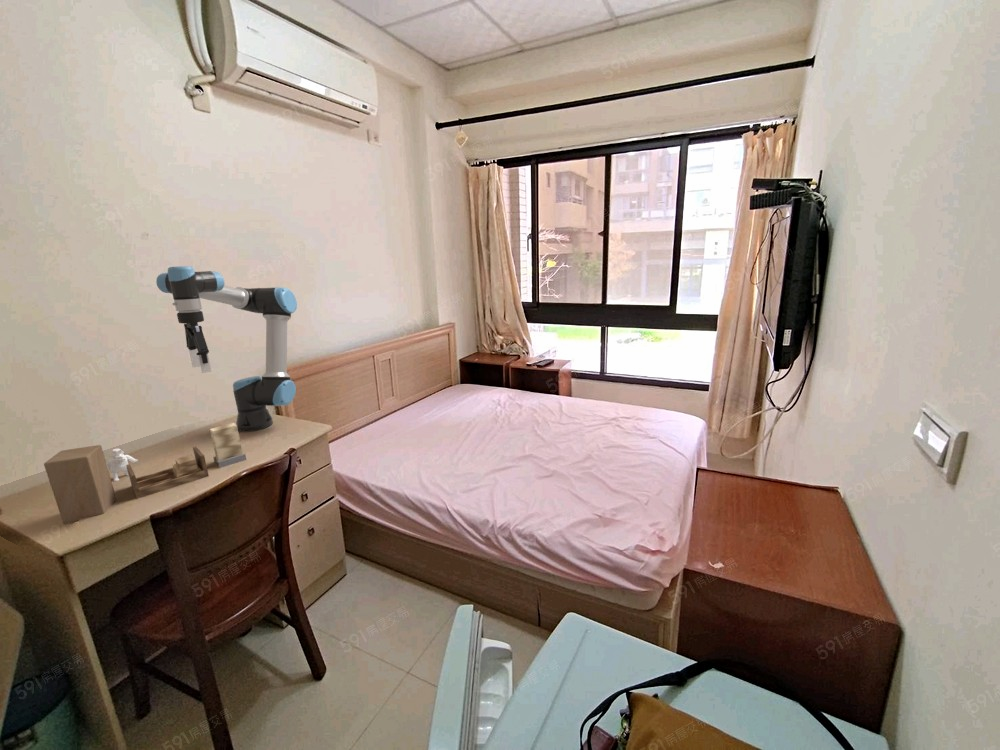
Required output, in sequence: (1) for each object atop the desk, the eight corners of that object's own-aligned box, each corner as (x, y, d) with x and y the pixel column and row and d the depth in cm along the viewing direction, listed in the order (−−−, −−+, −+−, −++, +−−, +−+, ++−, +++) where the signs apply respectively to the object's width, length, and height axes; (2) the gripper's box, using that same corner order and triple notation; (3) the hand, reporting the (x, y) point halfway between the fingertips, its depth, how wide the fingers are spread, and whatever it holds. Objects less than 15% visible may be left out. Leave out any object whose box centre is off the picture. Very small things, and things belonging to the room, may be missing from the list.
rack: (200, 468, 162) (195, 446, 160) (209, 478, 154) (204, 455, 152) (132, 489, 149) (126, 465, 146) (137, 501, 140) (131, 476, 138)
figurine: (113, 487, 150) (104, 456, 147) (104, 484, 153) (95, 452, 150) (144, 476, 158) (136, 445, 155) (134, 472, 161) (126, 442, 158)
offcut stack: (196, 469, 160) (193, 452, 158) (202, 475, 154) (198, 459, 153) (173, 475, 155) (169, 459, 153) (178, 483, 149) (174, 466, 148)
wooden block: (78, 508, 137) (60, 450, 132) (118, 500, 141) (101, 444, 136) (62, 525, 129) (42, 463, 123) (105, 516, 132) (87, 456, 127)
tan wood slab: (240, 456, 170) (233, 422, 166) (243, 459, 167) (237, 425, 164) (217, 463, 164) (209, 428, 161) (220, 466, 162) (212, 431, 158)
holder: (241, 455, 173) (239, 447, 172) (249, 462, 166) (248, 454, 165) (212, 463, 166) (210, 456, 165) (219, 471, 159) (218, 463, 158)
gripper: (169, 310, 159) (182, 366, 164) (184, 314, 142) (198, 376, 148) (193, 308, 164) (205, 362, 170) (211, 312, 147) (223, 372, 153)
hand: (201, 369), depth 159 cm, fingers open, 13 cm apart
